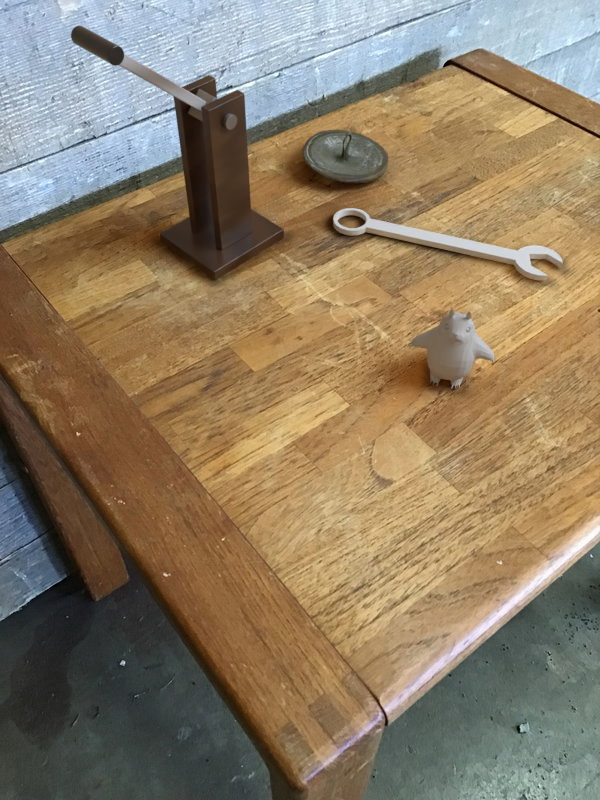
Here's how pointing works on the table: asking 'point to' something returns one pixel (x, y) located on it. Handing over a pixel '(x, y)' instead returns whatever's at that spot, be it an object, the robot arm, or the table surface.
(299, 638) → the table surface
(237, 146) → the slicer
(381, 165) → the lid
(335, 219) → the wrench
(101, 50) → the silver and black bar
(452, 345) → the figurine
